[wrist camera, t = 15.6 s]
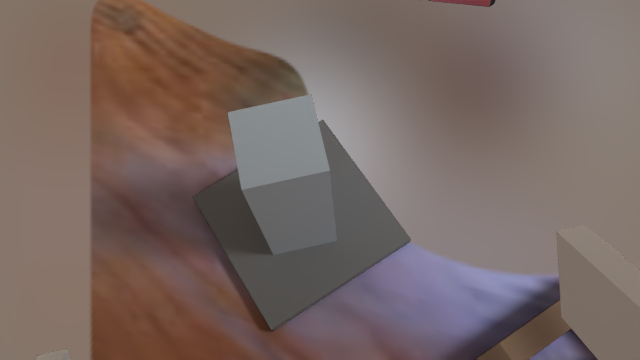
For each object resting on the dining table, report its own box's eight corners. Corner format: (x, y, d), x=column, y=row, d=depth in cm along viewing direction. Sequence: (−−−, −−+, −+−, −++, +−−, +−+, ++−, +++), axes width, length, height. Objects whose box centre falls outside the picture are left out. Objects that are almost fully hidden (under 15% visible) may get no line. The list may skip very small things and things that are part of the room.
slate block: (323, 182, 38) (311, 94, 27) (336, 240, 36) (330, 170, 26) (262, 195, 38) (227, 112, 27) (273, 255, 36) (241, 189, 26)
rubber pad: (323, 123, 40) (322, 119, 39) (409, 241, 36) (410, 239, 36) (194, 200, 38) (192, 196, 38) (272, 331, 35) (271, 329, 34)
